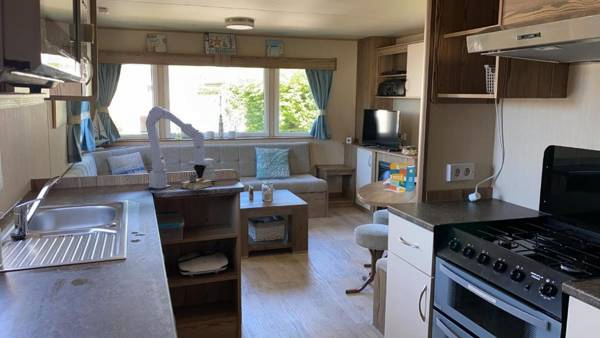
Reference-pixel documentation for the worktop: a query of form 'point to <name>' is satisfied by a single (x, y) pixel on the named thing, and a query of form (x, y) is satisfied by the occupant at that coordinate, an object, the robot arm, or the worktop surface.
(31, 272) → the worktop surface
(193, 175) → the steel peg
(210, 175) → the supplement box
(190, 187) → the hitch block
